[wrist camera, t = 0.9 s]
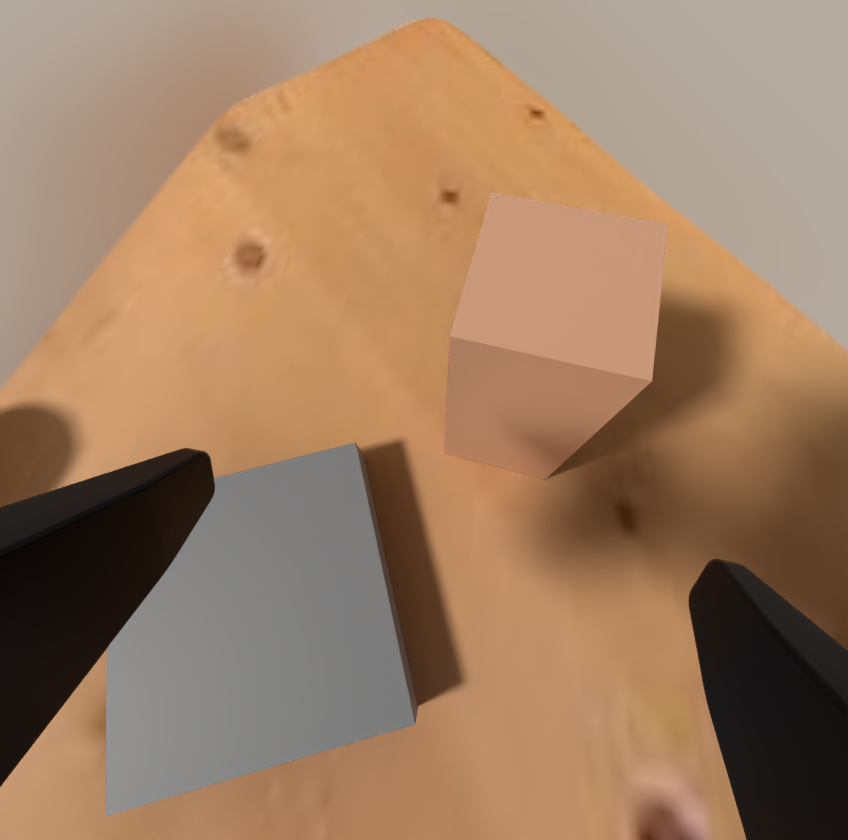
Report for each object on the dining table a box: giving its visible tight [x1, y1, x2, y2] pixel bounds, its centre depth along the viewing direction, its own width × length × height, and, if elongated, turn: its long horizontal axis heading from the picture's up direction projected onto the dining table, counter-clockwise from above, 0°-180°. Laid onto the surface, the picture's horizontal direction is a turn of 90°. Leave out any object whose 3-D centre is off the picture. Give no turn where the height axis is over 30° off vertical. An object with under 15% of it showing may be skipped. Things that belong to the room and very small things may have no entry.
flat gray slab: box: [106, 443, 418, 816], centre depth 20 cm, size 12×12×3 cm
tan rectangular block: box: [444, 192, 668, 480], centre depth 18 cm, size 6×6×12 cm
